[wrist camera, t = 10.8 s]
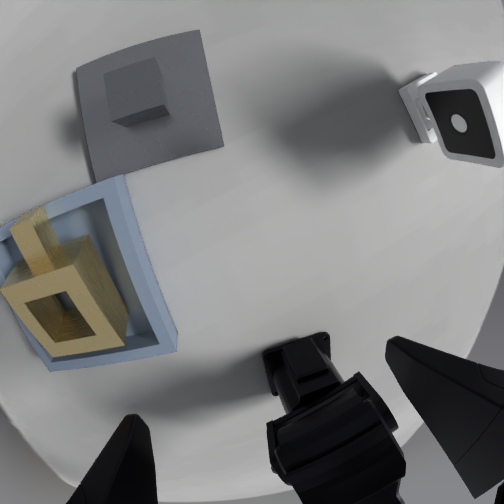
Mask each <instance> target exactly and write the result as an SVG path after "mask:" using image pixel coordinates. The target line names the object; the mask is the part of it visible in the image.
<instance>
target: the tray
mask: <svg viewBox="0 0 504 504" xmlns="http://www.w3.org/2000/svg"><path fill="white" fill-rule="evenodd" d="M43 208H44V210H45V213H46V215H47V217H48V219H49V222H50V224H51V226H52V228H53V230H54V232H55V234H56V237H57V239H58V241H59V243H60V244H61V243H64V242H67V241H69V240H72V239H75V238H78V237H81V236H83V235H86V234H89V235H90V237H91V239H92V242H93V244H94V246H95V248H96V250H97V252H98V254H99V256H100V258H101V260H102V262H103V264H104V266H105V268H106V270H107V272H108V274H109V276H110V278H111V279H112V281H113V283H114V285H115V287H116V289H117V290H118V292H119V294H120V296H121V297H122V299H123V301H124V303H125V304H126V306H127V308H128V309H129V315H128V323H127V332H126V342H125V345H124V346H119V347H114V348H108V349H103V350H97V351H91V352H85V353H79V354H72V355H66V356H59V357H52V356H51V355H50V354H49V353H48V352H47V350H46V349H45V348H44V347H43V346H42V345H41V344H40V342H39V341H38V340H37V339H36V338H35V337H34V335H33V334H32V333H31V332H30V330H29V329H28V328H27V327H26V325H25V324H24V323H23V322H22V320H21V319H20V318H19V316H18V315H17V314H16V312H15V311H14V310H13V308H12V307H11V305H10V304H9V305H10V307H11V309H12V311H13V313H14V315H15V317H16V319H17V320H18V322H19V324H20V326H21V328H22V329H23V331H24V333H25V335H26V336H27V338H28V340H29V341H30V343H31V344H32V346H33V348H34V349H35V351H36V352H37V354H38V355H39V357H40V358H41V360H42V361H43V363H44V364H45V366H46V367H47V369H48V370H49V371H50V372H51V371H61V370H70V369H78V368H86V367H93V366H100V365H107V364H113V363H119V362H125V361H131V360H136V359H142V358H147V357H152V356H157V355H162V354H167V353H172V352H177V338H178V332H177V329H176V327H175V325H174V322H173V320H172V317H171V315H170V313H169V310H168V308H167V305H166V303H165V300H164V297H163V295H162V292H161V290H160V287H159V284H158V282H157V279H156V276H155V274H154V271H153V268H152V265H151V262H150V259H149V257H148V254H147V251H146V248H145V245H144V242H143V239H142V235H141V232H140V229H139V226H138V223H137V219H136V216H135V213H134V209H133V206H132V202H131V199H130V195H129V191H128V188H127V184H126V180H125V176H124V174H122V175H119V176H115V177H112V178H109V179H106V180H104V181H101V182H98V183H95V184H93V185H90V186H88V187H85V188H83V189H80V190H78V191H75V192H73V193H70V194H68V195H65V196H63V197H61V198H58V199H56V200H54V201H52V202H49V203H47V204H45V205H43ZM20 217H21V216H20ZM20 217H18V218H16V219H14V220H12V221H10V222H8V223H6V224H5V225H3V226H1V227H0V286H1V287H2V285H3V283H4V282H5V280H6V279H7V277H8V275H9V274H10V272H11V271H12V269H13V268H14V266H15V265H16V263H17V262H18V260H20V259H22V258H24V257H23V255H22V253H21V251H20V249H19V248H18V246H17V244H16V242H15V240H14V238H13V236H12V234H11V232H10V230H9V228H10V227H11V226H12V225H13V224H14V223H15V222H16V221H17V220H18V219H19V218H20ZM55 296H56V297H57V299H58V300H59V302H60V303H61V305H62V306H63V308H64V309H65V310H69V309H73V308H77V307H76V305H75V304H74V302H73V301H72V299H71V298H70V296H69V295H68V293H67V292H66V291H64V292H60V293H57V294H55Z"/></svg>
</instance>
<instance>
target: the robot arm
mask: <svg viewBox="0 0 504 504" xmlns="http://www.w3.org/2000/svg"><path fill="white" fill-rule="evenodd" d="M325 336H326V337H325ZM324 337H325V338H324ZM267 355H269V356H267ZM262 358H263V362H264V366H265V370H266V374H267V378H268V382H269V385H270V389H271V393H272V395H273V396H278V395H279V397H280V400H281V402H282V405H283V407H284V410H285V412H286V415H284V416H282V417H280V418H278V419H276V420H274V421H273V420H272V421H270V422H268V423H266V425H267V440H268V449H269V458H270V463H271V469H272V471H273V472H274V473H276V474H278V476H279V477H280V478H281V480H282V481H283V482H284V483H286V484H287V485H290V486H291V485H292V486H293V488H294V490H295V491H296V493H297V494H298V496H299V498H300V499H301V501H302V503H303V504H405V503H404V501H403V499H402V498H401V496H400V494H399V493H398V491H399V486H400V481H401V478H403V477H404V476H405V473H406V462H405V460H404V454H403V452H402V450H401V448H400V446H399V445H398V443H397V441H396V439H395V438H394V436H393V434H392V432H394V431H395V430H397V429H398V424H397V422H396V420H395V418H394V416H393V415H392V413H391V411H390V410H389V408H388V407H387V405H386V404H385V402H384V401H383V399H382V398H381V397H380V396H379V394H378V393H377V392H376V391H375V390H374V388H373V387H372V386H371V385H370V384H369V383H368V381H367V380H366V379H365V378H364V377H363V375H362V374H361V373H360V372H357V373H356V374H354V376H353V377H351V378H350V379H348V380H347V381H345V382H344V380H343V379H342V377H341V376H340V374H339V373H338V371H337V370H336V368H335V367H334V365H333V363H332V362H331V353H330V335H329V334H328V333H327V332H322V333H319V334H316V335H314V336H311V337H308V338H305V339H302V340H299V341H296V342H293V343H289V344H286V345H283V346H280V347H277V348H273V349H270V350H267V351H264V352H263V353H262ZM385 359H386V361H387V363H388V365H389V367H390V369H391V370H392V372H393V374H394V376H395V378H396V379H397V381H398V383H399V385H400V387H401V388H402V390H403V392H404V393H405V395H406V396H407V398H408V399H409V400H410V402H411V403H412V405H413V406H414V408H415V409H416V410H417V412H418V413H419V415H420V416H421V418H422V419H423V420H424V422H425V423H426V425H427V426H428V427H429V429H430V431H431V432H432V434H433V435H434V436H435V438H436V439H437V441H438V442H439V444H440V445H441V447H442V448H443V450H444V451H445V453H446V454H447V456H448V458H449V459H450V461H451V462H452V464H453V465H454V467H455V468H456V470H457V472H458V473H459V475H460V476H461V478H462V480H463V481H464V483H465V484H466V486H467V488H468V489H469V491H470V493H471V494H472V496H473V497H474V498H475V499H476V498H477V497H479V496H480V495H482V494H484V493H485V492H487V491H488V490H489V489H491V488H492V487H494V486H495V485H496V484H498V483H499V482H501V481H502V480H503V479H504V370H500V369H496V368H492V367H489V366H485V365H482V364H479V363H478V364H477V363H476V362H473V361H470V360H467V359H464V358H461V357H458V356H455V355H452V354H449V353H446V352H443V351H440V350H437V349H434V348H432V347H429V346H426V345H423V344H420V343H417V342H414V341H412V340H409V339H406V338H403V337H400V336H394V337H392V338H390V339H389V340H388V341H387V344H386V352H385ZM66 504H158V499H157V487H156V472H155V463H154V456H153V450H152V443H151V436H150V430H149V428H148V426H147V425H146V423H145V422H144V421H143V420H142V419H141V418H140V416H139V415H137V414H128V415H126V416H125V417H124V419H123V420H122V422H121V423H120V424H119V426H118V427H117V429H116V430H115V432H114V433H113V435H112V436H111V438H110V439H109V441H108V442H107V444H106V445H105V447H104V448H103V450H102V451H101V453H100V454H99V456H98V457H97V459H96V460H95V462H94V463H93V465H92V466H91V468H90V469H89V471H88V472H87V474H86V475H85V477H84V478H83V480H82V481H81V484H80V485H79V486H78V487H77V489H76V490H75V492H74V493H73V495H72V496H71V498H70V499H69V501H68V502H67V503H66ZM494 504H504V482H503V483H502V484H501V485H500V486H499V487H498V490H497V495H496V499H495V503H494Z"/></svg>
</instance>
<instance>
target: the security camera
mask: <svg viewBox="0 0 504 504" xmlns="http://www.w3.org/2000/svg"><path fill="white" fill-rule="evenodd" d="M399 94H400V96H401V98H402V100H403V102H404V104H405V106H406V108H407V110H408V112H409V114H410V116H411V119H412V121H413V123H414V125H415V127H416V130H417V132H418V134H419V137H420V139H421V142H422V143H434V142H435V141H436V140H437V139H438V141H439V144H440V147H441V150H442V152H443V153H444V155H445V156H446V157H447V158H449V159H453V160H459V161H465V162H471V163H477V164H482V165H487V166H492V167H497V168H501V167H503V166H504V64H503V63H502V62H500V61H488V62H478V63H470V64H462V65H455V66H452V67H451V68H449V69H447V70H445V71H443V72H442V73H440V74H437V73H436V72H434V73H429V74H425V75H424V76H422V77H420V78H418V79H416V80H415V81H413V82H411V83H409V84H407V85H406V86H404V87H402V88H400V89H399Z"/></svg>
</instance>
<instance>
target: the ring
mask: <svg viewBox="0 0 504 504" xmlns="http://www.w3.org/2000/svg"><path fill="white" fill-rule="evenodd" d="M9 230H10V232H11V234H12V236H13V238H14V240H15V242H16V244H17V246H18V248H19V249H20V251H21V253H22V255H23V257H24V258H22V259H20V260H18V262H17V263H16V265H15V266H14V268H13V269H12V271H11V272H10V274H9V275H8V277H7V279H6V280H5V282H4V283H3V285H2V287H1V288H0V291H1V292H2V294H3V295H4V297H5V298H6V300H7V301H8V303H9V304H10V305H11V307H12V308H13V310H14V311H15V312H16V314H17V315H18V316H19V318H20V319H21V320H22V322H23V323H24V324H25V325H26V327H27V328H28V329H29V330H30V332H31V333H32V334H33V335H34V337H35V338H36V339H37V340H38V341H39V342H40V344H41V345H42V346H43V347H44V348H45V349H46V350H47V352H48V353H49V354H50V355H51V356H52V357H59V356H66V355H72V354H79V353H85V352H91V351H97V350H103V349H108V348H114V347H119V346H124V345H125V342H126V332H127V323H128V315H129V309H128V308H127V306H126V304H125V303H124V301H123V299H122V297H121V296H120V294H119V292H118V290H117V289H116V287H115V285H114V283H113V281H112V279H111V278H110V276H109V274H108V272H107V270H106V268H105V266H104V264H103V262H102V260H101V258H100V256H99V254H98V252H97V250H96V248H95V246H94V244H93V242H92V239H91V237H90V235H89V234H86V235H83V236H81V237H78V238H75V239H72V240H69V241H67V242H64V243H61V244H60V243H59V241H58V239H57V237H56V234H55V232H54V230H53V228H52V226H51V224H50V222H49V219H48V217H47V215H46V213H45V210H44V208H43V205H42V206H39V207H37V208H35V209H33V210H31V211H29V212H27V213H25V214H23V215H22V216H21V217H20V218H19V219H18V220H17V221H16V222H15V223H14V224H13V225H12V226H11V227H10V228H9ZM64 291H66V292H67V293H68V295H69V296H70V298H71V299H72V301H73V302H74V304H75V305H76V307H77V308H73V309H69V310H65V309H64V308H63V306H62V305H61V303H60V302H59V300H58V299H57V297H56V296H55V294H57V293H60V292H64Z"/></svg>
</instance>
